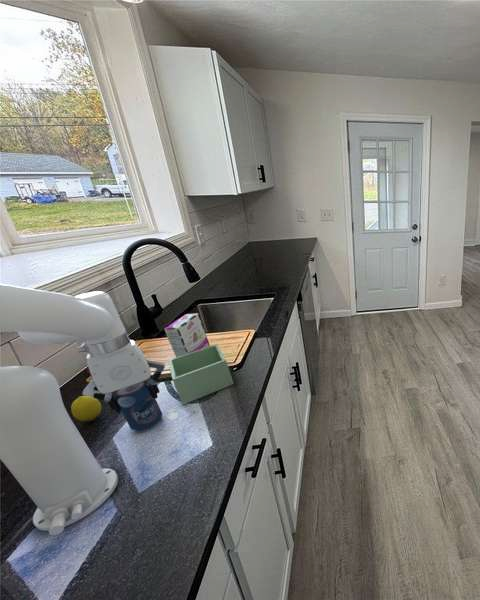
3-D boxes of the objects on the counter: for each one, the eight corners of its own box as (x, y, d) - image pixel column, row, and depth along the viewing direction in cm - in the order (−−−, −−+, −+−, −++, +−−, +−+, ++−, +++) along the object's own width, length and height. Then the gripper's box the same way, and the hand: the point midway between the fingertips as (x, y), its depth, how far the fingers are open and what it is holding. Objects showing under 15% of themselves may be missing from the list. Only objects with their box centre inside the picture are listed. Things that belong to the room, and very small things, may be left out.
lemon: (90, 428, 83) (76, 404, 80) (74, 426, 84) (59, 402, 81) (111, 413, 88) (99, 390, 85) (96, 411, 89) (83, 389, 86)
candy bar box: (200, 353, 116) (185, 313, 110) (213, 352, 116) (199, 312, 110) (180, 371, 106) (162, 328, 100) (194, 370, 106) (178, 327, 99)
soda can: (146, 435, 80) (127, 397, 75) (125, 431, 81) (105, 394, 77) (170, 415, 86) (154, 379, 81) (150, 412, 87) (133, 377, 83)
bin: (233, 384, 97) (225, 360, 94) (182, 404, 90) (172, 379, 86) (224, 365, 107) (216, 343, 104) (177, 383, 100) (168, 359, 96)
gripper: (55, 364, 66) (92, 428, 73) (154, 335, 76) (179, 394, 83) (60, 351, 72) (95, 411, 79) (152, 325, 82) (176, 381, 88)
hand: (137, 402), depth 81 cm, fingers closed on soda can, 7 cm apart
